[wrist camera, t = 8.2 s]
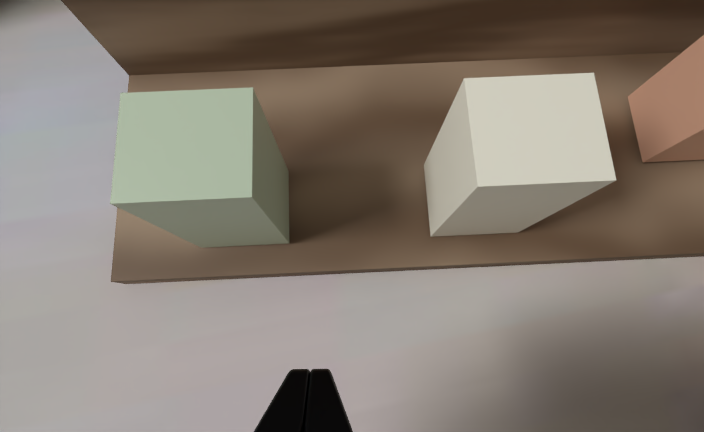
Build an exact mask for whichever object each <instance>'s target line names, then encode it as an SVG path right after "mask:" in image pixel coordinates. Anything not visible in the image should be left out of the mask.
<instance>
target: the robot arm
mask: <svg viewBox="0 0 704 432" xmlns="http://www.w3.org/2000/svg"><path fill="white" fill-rule="evenodd" d="M254 432H353V431H352V428H351V425H350V423H349V420H348V417H347V415H346V412H345V409H344V406H343V404H342V401H341V398H340V395H339V393H338V390H337V387H336V385H335V382H334V379H333V376H332V374H331V372H330V370H329V369H313V370H311V372H310V371H309V370H308V369H292V370H291V371H290V372H289V373H288V374H287V376H286V378H285V379H284V381H283V383H282V385H281V386H280V388H279V390H278V391H277V393H276V395H275V396H274V398H273V400H272V402H271V403H270V405H269V407H268V408H267V410H266V412H265V414H264V415H263V417H262V419H261V420H260V422H259V424H258V425H257V427H256V429H255V431H254Z"/></svg>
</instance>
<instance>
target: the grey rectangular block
mask: <svg viewBox="0 0 704 432" xmlns="http://www.w3.org/2000/svg"><path fill="white" fill-rule="evenodd" d="M424 172H425V183H426V194H427V204H428V215H429V225H430V236H431V237H434V236H455V235H477V234H498V233H518V232H520V231H522V230H524V229H525V228H527V227H529V226H531V225H533V224H535V223H537V222H539V221H541V220H542V219H544V218H546V217H548V216H550V215H552V214H554V213H556V212H558V211H559V210H561V209H563V208H565V207H567V206H569V205H571V204H573V203H575V202H576V201H578V200H580V199H582V198H584V197H586V196H588V195H590V194H592V193H593V192H595V191H597V190H599V189H601V188H603V187H605V186H607V185H609V184H611V183H612V182H614V181H616V176H615V171H614V166H613V161H612V157H611V152H610V147H609V142H608V138H607V133H606V128H605V123H604V119H603V114H602V109H601V104H600V99H599V95H598V90H597V85H596V80H595V76H594V73H576V74H552V75H528V76H505V77H481V78H464V79H463V82H462V84H461V86H460V88H459V90H458V92H457V95H456V97H455V99H454V101H453V103H452V105H451V107H450V110H449V112H448V114H447V116H446V118H445V120H444V123H443V125H442V127H441V129H440V131H439V133H438V135H437V138H436V140H435V142H434V144H433V146H432V148H431V151H430V153H429V155H428V157H427V159H426V161H425V163H424Z"/></svg>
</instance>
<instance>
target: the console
mask: <svg viewBox="0 0 704 432" xmlns="http://www.w3.org/2000/svg"><path fill="white" fill-rule="evenodd" d="M61 1H62V2H63V3H64V4H65V5H66V6H67V7H68V9H69V10H70V11H71V12H72V13H73V14H74V15H75V16H76V17H77V18H78V20H79V21H80V22H81V23H82V24H83V25H84V26H85V27H86V28H87V29H88V31H89V32H90V33H91V34H92V35H93V36H94V37H95V38H96V39H97V40H98V42H99V43H100V44H101V45H102V46H103V47H104V48H105V49H106V50H107V51H108V53H109V54H110V55H111V56H112V57H113V58H114V59H115V60H116V61H117V63H118V64H119V65H120V66H121V67H122V68H123V69H124V70H125V71H126V72H127V74H128V75H129V84H128V93H132V92H156V91H179V90H203V89H227V88H250V87H253V88H254V91H255V93H256V95H257V98H258V100H259V103H260V105H261V107H262V110H263V112H264V114H265V117H266V119H267V121H268V124H269V126H270V129H271V131H272V133H273V136H274V138H275V140H276V143H277V145H278V147H279V150H280V152H281V155H282V157H283V159H284V162H285V164H286V166H287V169H288V171H289V243H288V244H267V245H246V246H225V247H204V248H201V247H199V246H197V245H195V244H193V243H190V242H188V241H186V240H184V239H182V238H180V237H178V236H176V235H174V234H172V233H170V232H168V231H166V230H164V229H162V228H159V227H157V226H155V225H153V224H151V223H149V222H147V221H145V220H143V219H141V218H139V217H137V216H135V215H133V214H130V213H128V212H126V211H124V210H122V209H120V208H118V207H117V219H116V230H115V241H114V252H113V263H112V275H111V282H117V283H123V284H135V283H156V282H176V281H197V280H218V279H239V278H260V277H280V276H301V275H322V274H343V273H364V272H384V271H405V270H426V269H447V268H468V267H488V266H509V265H530V264H551V263H572V262H592V261H613V260H634V259H655V258H676V257H696V256H704V160H684V161H662V162H642V158H641V153H640V149H639V145H638V140H637V136H636V132H635V127H634V123H633V118H632V114H631V110H630V105H629V101H628V96H629V95H630V94H631V93H633V92H634V91H635V90H636V89H638V88H639V87H640V86H641V85H643V84H644V83H645V82H646V81H647V80H649V79H650V78H651V77H652V76H654V75H655V74H656V73H657V72H659V71H660V70H661V69H662V68H663V67H665V66H666V65H667V64H668V63H670V62H671V61H672V60H673V59H675V58H676V57H677V56H678V55H680V54H681V53H682V52H683V51H684V50H686V49H687V48H688V47H689V46H691V45H692V44H693V43H694V42H696V41H697V40H698V39H699V38H700V37H702V36H703V35H704V0H61ZM576 73H594V76H595V80H596V85H597V90H598V95H599V99H600V104H601V109H602V114H603V119H604V123H605V128H606V133H607V138H608V142H609V147H610V152H611V157H612V161H613V166H614V171H615V176H616V181H614V182H612V183H611V184H609V185H607V186H605V187H603V188H601V189H599V190H597V191H595V192H593V193H592V194H590V195H588V196H586V197H584V198H582V199H580V200H578V201H576V202H575V203H573V204H571V205H569V206H567V207H565V208H563V209H561V210H559V211H558V212H556V213H554V214H552V215H550V216H548V217H546V218H544V219H542V220H541V221H539V222H537V223H535V224H533V225H531V226H529V227H527V228H525V229H524V230H522V231H520V232H518V233H498V234H477V235H455V236H434V237H431V236H430V225H429V215H428V204H427V194H426V183H425V172H424V163H425V161H426V159H427V157H428V155H429V153H430V151H431V148H432V146H433V144H434V142H435V140H436V138H437V135H438V133H439V131H440V129H441V127H442V125H443V123H444V120H445V118H446V116H447V114H448V112H449V110H450V107H451V105H452V103H453V101H454V99H455V97H456V95H457V92H458V90H459V88H460V86H461V84H462V82H463V79H464V78H481V77H505V76H528V75H552V74H576Z"/></svg>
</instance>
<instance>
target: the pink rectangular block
mask: <svg viewBox="0 0 704 432" xmlns="http://www.w3.org/2000/svg"><path fill="white" fill-rule="evenodd" d="M628 101H629V105H630V110H631V114H632V118H633V123H634V127H635V132H636V136H637V140H638V145H639V149H640V153H641V158H642V162H662V161H684V160H704V35H703V36H702V37H700V38H699V39H698V40H697V41H696V42H694V43H693V44H692V45H691V46H689V47H688V48H687V49H686V50H684V51H683V52H682V53H681V54H680V55H678V56H677V57H676V58H675V59H673V60H672V61H671V62H670V63H668V64H667V65H666V66H665V67H663V68H662V69H661V70H660V71H659V72H657V73H656V74H655V75H654V76H652V77H651V78H650V79H649V80H647V81H646V82H645V83H644V84H643V85H641V86H640V87H639V88H638V89H636V90H635V91H634V92H633V93H631V94H630V95H629V96H628Z"/></svg>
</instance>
